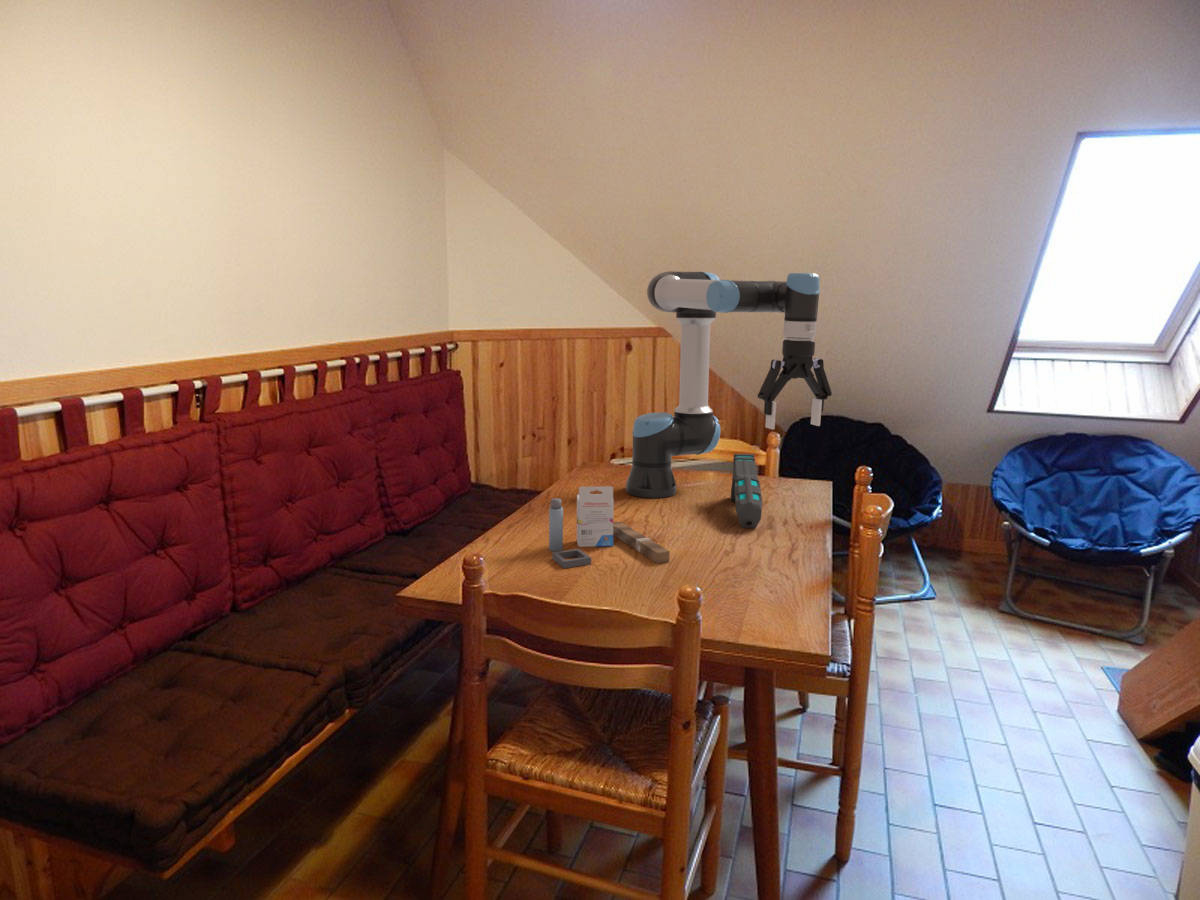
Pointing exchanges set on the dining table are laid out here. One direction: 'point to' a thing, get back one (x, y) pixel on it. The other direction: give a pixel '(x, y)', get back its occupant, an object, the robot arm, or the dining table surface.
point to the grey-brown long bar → (640, 543)
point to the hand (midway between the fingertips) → (792, 426)
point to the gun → (746, 490)
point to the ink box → (595, 517)
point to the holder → (581, 560)
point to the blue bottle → (555, 525)
